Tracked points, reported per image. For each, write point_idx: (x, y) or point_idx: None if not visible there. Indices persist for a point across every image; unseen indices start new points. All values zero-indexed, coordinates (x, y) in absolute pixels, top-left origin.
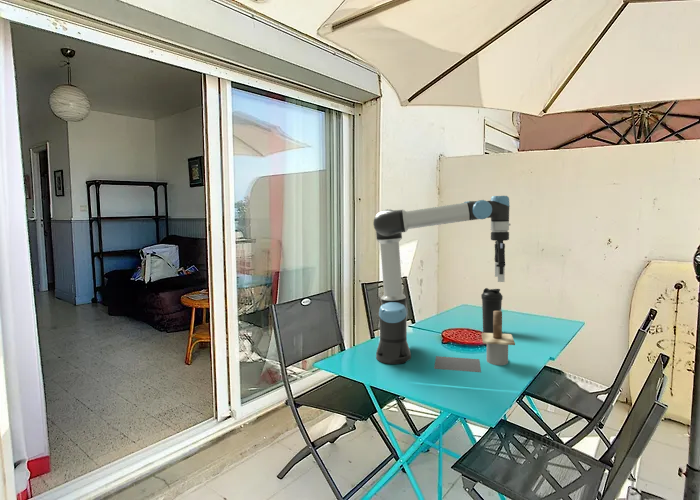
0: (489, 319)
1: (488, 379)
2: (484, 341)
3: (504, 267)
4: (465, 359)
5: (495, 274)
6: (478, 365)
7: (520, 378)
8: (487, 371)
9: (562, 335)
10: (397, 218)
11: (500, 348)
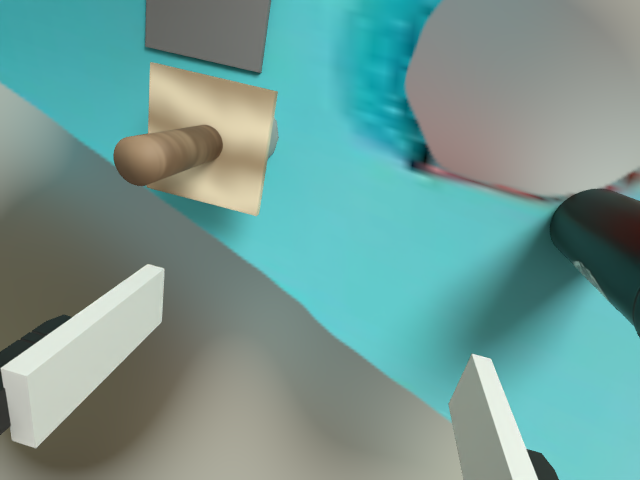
0: (593, 227)
1: (111, 60)
2: (150, 68)
3: (22, 431)
4: (254, 13)
5: (473, 375)
6: (200, 52)
7: None
8: None
9: None
10: None
11: None
